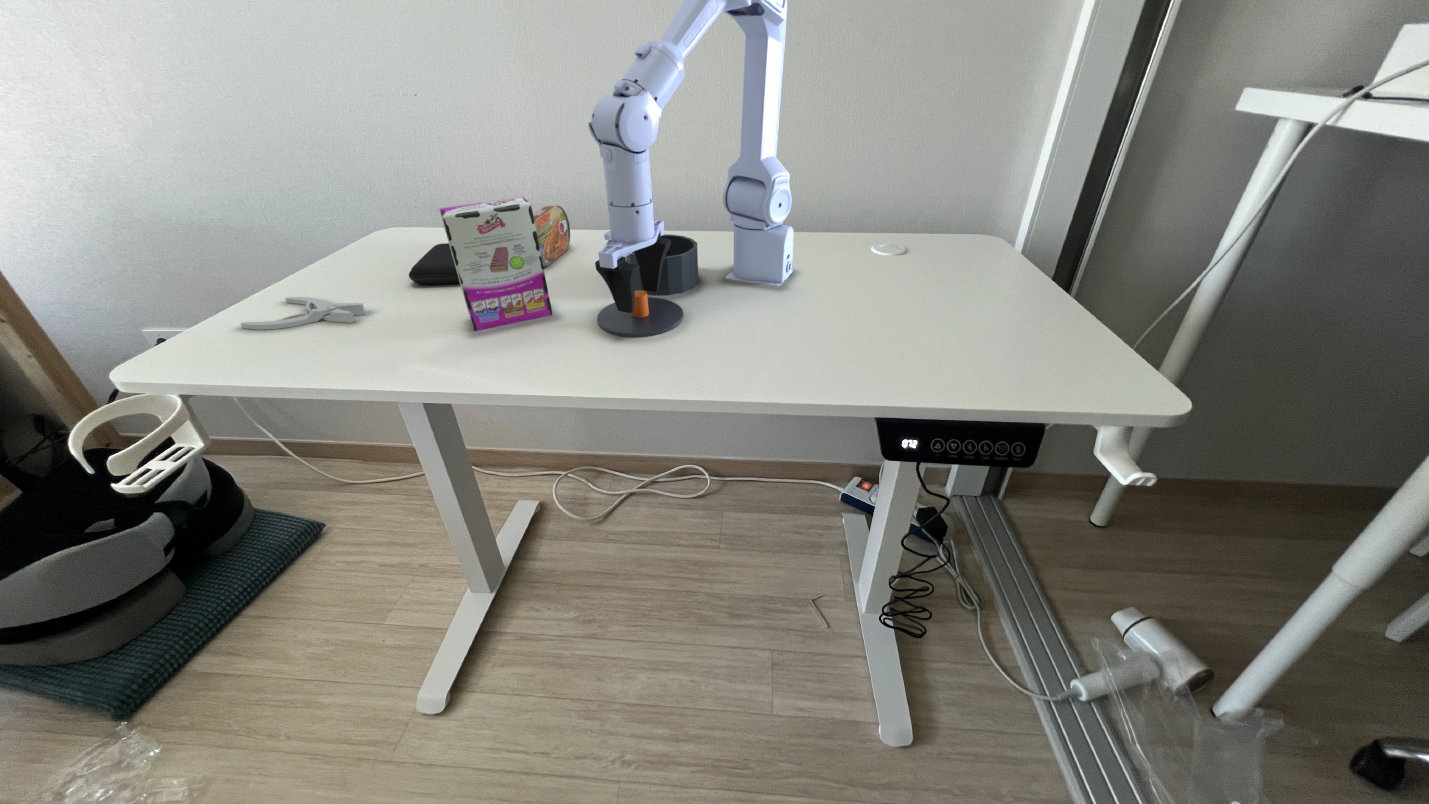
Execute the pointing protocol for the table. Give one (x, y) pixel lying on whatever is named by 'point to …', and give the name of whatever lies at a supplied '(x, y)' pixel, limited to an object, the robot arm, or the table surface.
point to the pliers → (312, 314)
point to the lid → (641, 317)
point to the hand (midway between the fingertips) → (638, 300)
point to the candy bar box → (498, 261)
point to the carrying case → (435, 267)
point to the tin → (552, 232)
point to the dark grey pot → (674, 267)
